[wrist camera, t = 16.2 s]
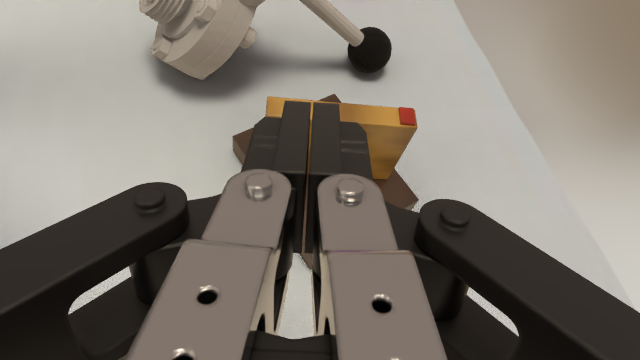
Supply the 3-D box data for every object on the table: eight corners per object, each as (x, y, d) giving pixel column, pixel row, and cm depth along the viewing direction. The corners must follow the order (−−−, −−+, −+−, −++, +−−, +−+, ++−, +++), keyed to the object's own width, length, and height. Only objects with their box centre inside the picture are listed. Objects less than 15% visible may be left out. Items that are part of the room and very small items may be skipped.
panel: (203, 149, 36) (201, 134, 34) (342, 91, 42) (346, 76, 40) (294, 297, 31) (297, 289, 30) (437, 210, 37) (448, 198, 35)
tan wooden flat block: (261, 172, 34) (266, 113, 28) (262, 154, 34) (267, 93, 28) (387, 180, 35) (419, 125, 29) (385, 163, 36) (416, 106, 30)
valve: (288, 151, 49) (406, 94, 40) (113, 65, 35) (238, -49, 26) (286, 76, 53) (393, 11, 45) (131, -27, 39) (243, -151, 31)
